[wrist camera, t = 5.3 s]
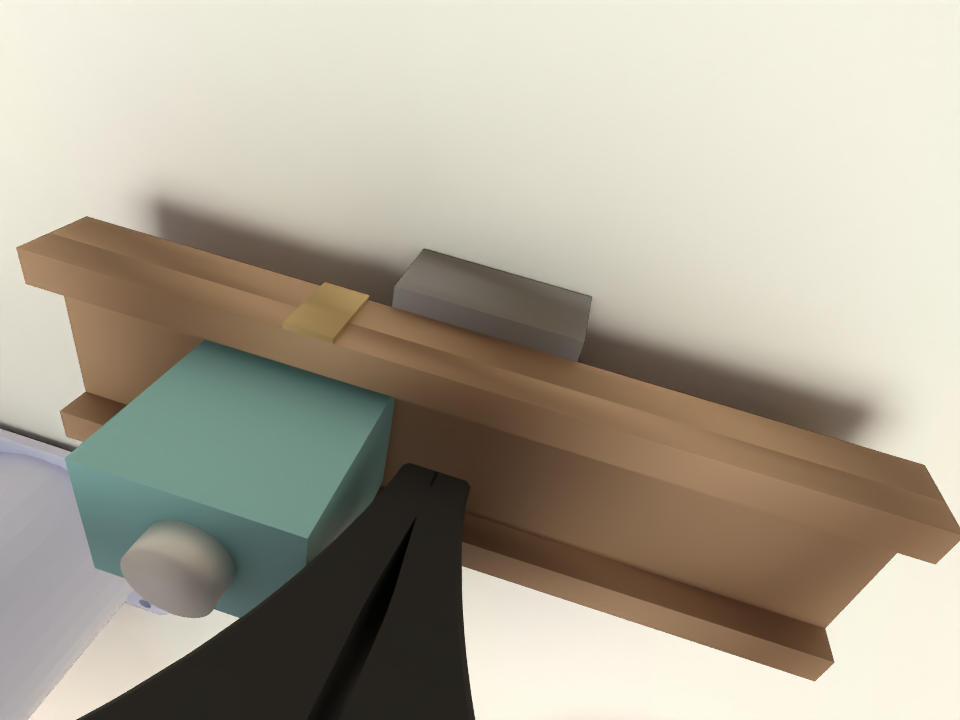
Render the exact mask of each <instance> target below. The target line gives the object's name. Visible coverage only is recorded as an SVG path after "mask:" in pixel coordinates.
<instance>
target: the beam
mask: <svg viewBox="0 0 960 720" xmlns="http://www.w3.org/2000/svg"><path fill="white" fill-rule="evenodd" d="M16 249H17V252H18V256H19V260H20V264H21V267H22V271H23V275H24V279H25V282H26V284H28V285H31V286H34V287H38V288H41V289H44V290H47V291H51V292H54V293H57V294H60V295H64V298H65V302H66V307H67V311H68V315H69V320H70V324H71V329H72V333H73V337H74V342H75V346H76V351H77V355H78V359H79V364H80V368H81V372H82V377H83V381H84V386H85V390H86V392H85V393H83V394H82V395H81V396H79V397H78V398H77V399H75V400H74V401H73V402H71V403H70V404H69V405H68V406H66V407H65V408H64V409H62V410H61V411H60V414H61V418H62V421H63V425H64V429H65V433H66V436H67V437H70V438H73V439H76V440H79V441H82V442H84V441H85V440H87V439H88V438H89V437H90V436H91V435H93V434H94V433H95V432H96V431H97V430H99V429H100V428H101V427H102V426H103V425H104V424H106V423H107V422H108V421H109V420H110V419H112V418H113V417H114V416H115V415H116V414H117V413H119V412H120V411H121V410H122V409H123V408H125V407H126V406H127V405H128V404H129V403H130V402H132V401H133V400H134V399H135V398H136V397H138V396H139V395H140V394H141V393H142V392H143V391H145V390H146V389H147V388H148V387H149V386H151V385H152V384H153V383H154V382H155V381H157V380H158V379H159V378H160V377H161V376H162V375H164V374H165V373H166V372H167V371H168V370H170V369H171V368H172V367H173V366H174V365H175V364H177V363H178V362H179V361H180V360H181V359H183V358H184V357H185V356H186V355H187V354H188V353H190V352H191V351H192V350H193V349H194V348H196V347H197V346H198V345H199V344H200V343H202V342H203V341H204V340H205V339H206V340H210V341H213V342H216V343H219V344H222V345H226V346H229V347H232V348H235V349H239V350H242V351H245V352H248V353H252V354H255V355H258V356H261V357H265V358H268V359H271V360H274V361H278V362H281V363H284V364H287V365H291V366H294V367H297V368H300V369H304V370H307V371H310V372H313V373H316V374H320V375H323V376H326V377H329V378H333V379H336V380H339V381H342V382H346V383H349V384H352V385H355V386H359V387H362V388H365V389H368V390H372V391H375V392H378V393H381V394H385V395H388V396H391V397H394V398H395V405H394V411H393V418H392V424H391V431H390V437H389V444H388V451H387V457H386V464H385V470H384V477H383V482H382V484H381V486H380V488H379V490H378V492H377V493H376V495H375V497H374V499H373V501H374V500H375V498H376V497H377V496H378V495H379V494H380V493H381V492H382V491H383V489H384V488H385V487H386V486H387V485H388V484H389V482H390V481H391V480H392V479H393V477H394V476H395V475H396V474H397V472H398V471H399V469H400V468H401V467H402V465H404V464H407V463H412V464H415V465H418V466H421V467H424V468H428V469H431V470H434V471H437V472H440V473H443V474H447V475H450V476H453V477H456V478H459V479H462V480H465V481H467V482H468V484H469V485H470V487H471V488H470V491H469V495H468V499H467V503H466V509H465V516H464V524H463V538H462V566H464V567H467V568H470V569H473V570H476V571H479V572H482V573H485V574H488V575H492V576H495V577H498V578H501V579H504V580H507V581H510V582H513V583H516V584H519V585H522V586H525V587H528V588H531V589H534V590H537V591H540V592H543V593H547V594H550V595H553V596H556V597H559V598H562V599H565V600H568V601H571V602H574V603H577V604H580V605H583V606H586V607H589V608H592V609H595V610H598V611H602V612H605V613H608V614H611V615H614V616H617V617H620V618H623V619H626V620H629V621H632V622H635V623H638V624H641V625H644V626H647V627H650V628H653V629H656V630H660V631H663V632H666V633H669V634H672V635H675V636H678V637H681V638H684V639H687V640H690V641H693V642H696V643H699V644H702V645H705V646H708V647H711V648H715V649H718V650H721V651H724V652H727V653H730V654H733V655H736V656H739V657H742V658H745V659H748V660H751V661H754V662H757V663H760V664H763V665H766V666H770V667H773V668H776V669H779V670H782V671H785V672H788V673H791V674H794V675H797V676H800V677H803V678H806V679H809V680H812V681H816V680H817V679H818V678H819V677H820V676H821V675H822V674H823V673H824V672H825V671H826V670H827V669H828V668H829V667H830V666H831V665H832V664H833V663H834V659H833V656H832V652H831V648H830V645H829V641H828V638H827V634H826V630H825V628H826V627H827V626H828V625H829V624H830V623H831V622H832V621H833V620H834V619H835V617H836V616H837V615H838V614H839V613H840V612H841V611H842V610H843V609H844V608H845V607H846V606H847V605H848V604H849V603H850V602H851V601H852V600H853V599H854V598H855V597H856V595H857V594H858V593H859V592H860V591H861V590H862V589H863V588H864V587H865V586H866V585H867V584H868V583H869V582H870V581H871V580H872V579H873V578H874V577H875V576H876V575H877V573H878V572H879V571H880V570H881V569H882V568H883V567H884V566H885V565H886V564H887V563H888V562H889V561H890V560H891V559H892V558H893V557H894V556H895V555H896V554H897V553H900V554H903V555H907V556H910V557H913V558H916V559H919V560H923V561H926V562H929V563H932V564H936V563H937V562H938V561H939V560H940V559H941V558H943V557H944V556H945V555H946V554H947V553H948V552H949V551H950V550H951V549H952V548H953V547H954V546H955V545H956V544H957V543H958V542H959V541H960V527H959V525H958V523H957V521H956V520H955V518H954V516H953V514H952V513H951V511H950V509H949V507H948V506H947V504H946V502H945V500H944V498H943V497H942V495H941V493H940V491H939V490H938V488H937V486H936V484H935V483H934V481H933V479H932V477H931V475H930V474H929V472H928V470H927V468H926V467H925V465H923V464H919V463H916V462H913V461H909V460H906V459H902V458H899V457H896V456H892V455H889V454H886V453H882V452H879V451H875V450H872V449H869V448H865V447H862V446H859V445H855V444H852V443H849V442H845V441H842V440H838V439H835V438H832V437H828V436H825V435H822V434H818V433H815V432H811V431H808V430H805V429H801V428H798V427H795V426H791V425H788V424H785V423H781V422H778V421H774V420H771V419H768V418H764V417H761V416H758V415H754V414H751V413H747V412H744V411H741V410H737V409H734V408H731V407H727V406H724V405H721V404H717V403H714V402H710V401H707V400H704V399H700V398H697V397H694V396H690V395H687V394H683V393H680V392H677V391H673V390H670V389H667V388H663V387H660V386H657V385H653V384H650V383H646V382H643V381H640V380H636V379H633V378H630V377H626V376H623V375H619V374H616V373H613V372H609V371H606V370H603V369H599V368H596V367H593V366H589V365H586V364H582V363H579V362H578V359H579V356H580V353H581V351H582V348H583V345H584V342H585V336H586V330H587V324H588V318H589V311H590V305H591V299H592V297H589V296H586V295H582V294H579V293H575V292H572V291H568V290H565V289H562V288H558V287H555V286H551V285H548V284H544V283H541V282H537V281H534V280H530V279H527V278H523V277H520V276H516V275H513V274H509V273H506V272H503V271H499V270H496V269H492V268H489V267H485V266H482V265H478V264H475V263H471V262H468V261H464V260H461V259H457V258H454V257H451V256H447V255H444V254H440V253H437V252H433V251H430V250H426V249H423V250H422V252H421V253H420V254H419V255H418V257H417V258H416V259H415V261H414V262H413V263H412V264H411V266H410V267H409V268H408V269H407V271H406V272H405V273H404V275H403V276H402V277H401V278H400V280H399V281H398V282H397V283H396V285H395V286H394V293H393V301H392V307H390V306H387V305H384V304H380V303H377V302H374V301H370V300H369V296H370V295H367V294H364V293H360V292H357V291H354V290H350V289H347V288H344V287H340V286H337V285H333V284H330V283H327V282H324V283H323V284H322V285H321V286H320V285H316V284H313V283H310V282H306V281H303V280H300V279H296V278H293V277H289V276H286V275H283V274H279V273H276V272H273V271H269V270H266V269H262V268H259V267H256V266H252V265H249V264H246V263H242V262H239V261H236V260H232V259H229V258H225V257H222V256H219V255H215V254H212V253H209V252H205V251H202V250H198V249H195V248H192V247H188V246H185V245H182V244H178V243H175V242H172V241H168V240H165V239H161V238H158V237H155V236H151V235H148V234H145V233H141V232H138V231H134V230H131V229H128V228H124V227H121V226H118V225H114V224H111V223H108V222H104V221H101V220H97V219H94V218H91V217H87V216H86V217H84V218H82V219H80V220H77V221H75V222H73V223H71V224H68V225H66V226H64V227H62V228H59V229H57V230H55V231H53V232H50V233H48V234H46V235H44V236H41V237H39V238H37V239H35V240H32V241H30V242H28V243H26V244H23V245H21V246H19V247H17V248H16ZM373 501H372V502H373Z"/></svg>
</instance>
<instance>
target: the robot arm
mask: <svg viewBox="0 0 960 720" xmlns="http://www.w3.org/2000/svg"><path fill="white" fill-rule="evenodd" d="M70 453H71V452H70V451H67V450H64V449H61V448H58V447H55V446H52V445H49V444H46V443H43V442H40V441H37V440H34V439H31V438H28V437H25V436H22V435H18V434H15V433H12V432H9V431H6V430H3V429H0V720H28V719H29V718H30V716H31V715H32V714H33V713H34V711H35V710H36V709H37V708H38V707H39V705H40V704H41V703H42V702H43V700H44V699H45V698H46V697H47V696H48V694H49V693H50V692H51V691H52V690H53V688H54V687H55V686H56V685H57V683H58V682H59V681H60V680H61V679H62V677H63V676H64V675H65V674H66V672H67V671H68V670H69V669H70V668H71V666H72V665H73V664H74V663H75V661H76V660H77V659H78V658H79V657H80V655H81V654H82V653H83V652H84V651H85V649H86V648H87V647H88V646H89V644H90V643H91V642H92V641H93V640H94V638H95V637H96V636H97V635H98V633H99V632H100V631H101V630H102V629H103V627H104V626H105V625H106V624H107V622H108V621H109V620H110V619H111V618H112V616H113V615H114V614H115V613H116V612H117V610H118V609H119V608H120V607H121V605H122V604H123V603H124V602H125V603H128V604H130V605H133V606H136V607H139V608H142V609H145V610H148V611H151V612H153V613H156V614H160V615H165V614H167V613H168V612H166V611H164V610H162V609H160V608H158V607H156V606H154V605H153V604H151V603H150V602H148V601H147V600H145V599H144V598H143V597H141V596H140V595H139V594H138V593H137V592H136V591H135V590H134V589H133V588H132V587H131V586H130V585H129V584H128V582H127V581H126V579H125V578H122V577H119V576H117V575H114V574H111V573H108V572H105V571H102V570H99V569H96V568H95V567H94V563H93V560H92V556H91V553H90V549H89V545H88V542H87V538H86V534H85V531H84V527H83V524H82V520H81V516H80V513H79V509H78V506H77V502H76V498H75V495H74V491H73V487H72V484H71V480H70V477H69V473H68V469H67V466H66V462H65V459H64V458H65V457H67V456H68V455H69V454H70ZM470 488H471V487H470V485H469V484H468V482H467V481H465V480H462V479H459V478H456V477H453V476H450V475H447V474H443V473H440V472H437V471H434V470H431V469H428V468H424V467H421V466H418V465H415V464H412V463H407V464H404V465H402V467H401V468H400V469H399V471H398V472H397V474H396V475H395V476H394V477H393V479H392V480H391V481H390V482H389V484H388V485H387V486H386V487H385V488H384V489H383V491H382V492H381V493H380V494H379V495H378V496H377V497H376V498H375V500H374V501H373V502H372V503H371V504H370V505H369V506H368V507H367V508H366V509H365V510H364V511H363V512H362V513H361V514H360V515H359V516H358V517H357V518H356V519H355V520H354V521H353V522H352V523H351V524H350V525H349V526H348V527H347V528H346V529H345V530H344V531H343V532H342V533H341V534H340V535H339V536H338V537H337V538H336V539H335V540H334V541H333V542H332V543H331V544H330V545H329V546H328V547H327V548H325V549H324V550H323V551H322V552H321V553H320V554H319V555H318V556H316V557H315V558H314V559H313V560H312V561H311V562H310V563H308V564H307V565H306V566H305V567H304V568H303V569H302V570H301V571H299V572H298V573H297V574H296V575H295V576H294V577H292V578H291V579H290V580H289V581H288V582H286V583H285V584H284V585H283V586H281V587H280V588H279V589H278V590H276V591H275V592H274V593H273V594H271V595H270V596H269V597H268V598H266V599H265V600H264V601H262V602H261V603H260V604H258V605H257V606H256V607H254V608H253V609H252V610H251V611H249V612H248V613H247V614H245V615H244V616H242V617H241V618H240V619H238V620H237V621H235V622H234V623H233V624H231V625H230V626H228V627H227V628H225V629H224V630H223V631H221V632H220V633H218V634H217V635H216V636H214V637H213V638H211V639H210V640H208V641H207V642H205V643H204V644H202V645H201V646H199V647H198V648H196V649H195V650H193V651H192V652H190V653H189V654H187V655H186V656H184V657H183V658H181V659H179V660H178V661H176V662H175V663H173V664H171V665H170V666H168V667H166V668H165V669H163V670H161V671H160V672H158V673H157V674H155V675H153V676H152V677H150V678H148V679H147V680H145V681H144V682H142V683H140V684H139V685H137V686H135V687H134V688H132V689H130V690H129V691H127V692H126V693H124V694H122V695H120V696H119V697H117V698H115V699H113V700H112V701H110V702H108V703H106V704H105V705H103V706H101V707H99V708H97V709H95V710H93V711H92V712H90V713H88V714H86V715H84V716H82V717H81V718H79V719H77V720H475V716H474V709H473V703H472V697H471V689H470V682H469V674H468V666H467V657H466V647H465V636H464V622H463V606H462V538H463V524H464V516H465V509H466V503H467V499H468V495H469V491H470Z"/></svg>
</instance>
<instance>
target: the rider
mask: <svg viewBox="0 0 960 720" xmlns="http://www.w3.org/2000/svg"><path fill="white" fill-rule="evenodd" d="M394 405H395V398H394V397H391V396H388V395H385V394H381V393H378V392H375V391H372V390H368V389H365V388H362V387H359V386H355V385H352V384H349V383H346V382H342V381H339V380H336V379H333V378H329V377H326V376H323V375H320V374H316V373H313V372H310V371H307V370H304V369H300V368H297V367H294V366H291V365H287V364H284V363H281V362H278V361H274V360H271V359H268V358H265V357H261V356H258V355H255V354H252V353H248V352H245V351H242V350H239V349H235V348H232V347H229V346H226V345H222V344H219V343H216V342H213V341H210V340H206V339H205V340H204V341H203V342H202V343H200V344H199V345H198V346H197V347H196V348H194V349H193V350H192V351H191V352H190V353H188V354H187V355H186V356H185V357H184V358H183V359H181V360H180V361H179V362H178V363H177V364H175V365H174V366H173V367H172V368H171V369H170V370H168V371H167V372H166V373H165V374H164V375H162V376H161V377H160V378H159V379H158V380H157V381H155V382H154V383H153V384H152V385H151V386H149V387H148V388H147V389H146V390H145V391H143V392H142V393H141V394H140V395H139V396H138V397H136V398H135V399H134V400H133V401H132V402H130V403H129V404H128V405H127V406H126V407H125V408H123V409H122V410H121V411H120V412H119V413H117V414H116V415H115V416H114V417H113V418H112V419H110V420H109V421H108V422H107V423H106V424H104V425H103V426H102V427H101V428H100V429H99V430H97V431H96V432H95V433H94V434H93V435H91V436H90V437H89V438H88V439H87V440H85V441H84V442H83V443H82V444H81V445H80V446H78V447H77V448H76V449H75V450H74V451H72V452H71V453H70V454H69V455H68V456H67V457H65V458H64V459H65V462H66V466H67V469H68V473H69V477H70V480H71V484H72V487H73V491H74V495H75V498H76V502H77V506H78V509H79V513H80V516H81V520H82V524H83V527H84V531H85V534H86V538H87V542H88V545H89V549H90V553H91V556H92V560H93V563H94V567H95V568H96V569H99V570H102V571H105V572H108V573H111V574H114V575H117V576H119V577H122V578H125V579H126V581H127V582H128V584H129V585H130V586H131V587H132V588H133V589H134V590H135V591H136V592H137V593H138V594H139V595H140V596H141V597H143V598H144V599H145V600H147V601H148V602H150V603H151V604H153V605H154V606H156V607H158V608H160V609H162V610H164V611H166V612H169V613H172V614H175V615H178V616H182V617H188V618H200V617H204V616H207V615H208V614H210V613H211V612H212V611H213V609H215V610H218V611H221V612H224V613H227V614H230V615H233V616H236V617H239V618H241V617H242V616H244V615H245V614H247V613H248V612H249V611H251V610H252V609H253V608H254V607H256V606H257V605H258V604H260V603H261V602H262V601H264V600H265V599H266V598H268V597H269V596H270V595H271V594H273V593H274V592H275V591H276V590H278V589H279V588H280V587H281V586H283V585H284V584H285V583H286V582H288V581H289V580H290V579H291V578H292V577H294V576H295V575H296V574H297V573H298V572H299V571H301V570H302V569H303V568H304V567H305V566H306V565H307V564H308V563H310V562H311V561H312V560H313V559H314V558H315V557H316V556H318V555H319V554H320V553H321V552H322V551H323V550H324V549H325V548H327V547H328V546H329V545H330V544H331V543H332V542H333V541H334V540H335V539H336V538H337V537H338V536H339V535H340V534H341V533H342V532H343V531H344V530H345V529H346V528H347V527H348V526H349V525H350V524H351V523H352V522H353V521H354V520H355V519H356V518H357V517H358V516H359V515H360V514H361V513H362V512H363V511H364V510H365V509H366V508H367V507H368V506H369V505H370V504H371V503H372V501H373V499H374V497H375V495H376V493H377V492H378V490H379V488H380V486H381V484H382V482H383V477H384V470H385V464H386V457H387V451H388V444H389V437H390V431H391V424H392V418H393V411H394Z"/></svg>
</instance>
